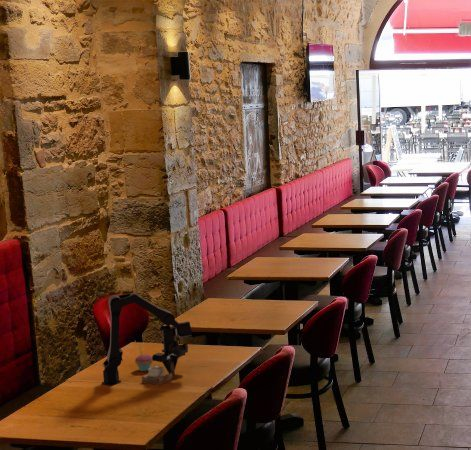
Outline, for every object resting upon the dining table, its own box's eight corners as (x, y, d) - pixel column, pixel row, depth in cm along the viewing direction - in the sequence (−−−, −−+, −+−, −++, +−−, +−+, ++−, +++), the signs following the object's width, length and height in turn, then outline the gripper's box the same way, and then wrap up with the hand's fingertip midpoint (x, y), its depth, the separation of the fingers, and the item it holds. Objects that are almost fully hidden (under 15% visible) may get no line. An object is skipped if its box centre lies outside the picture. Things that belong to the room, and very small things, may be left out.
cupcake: (132, 371, 409) (130, 346, 407) (142, 366, 416) (140, 341, 415) (147, 373, 405) (145, 348, 403) (157, 367, 412) (155, 343, 411)
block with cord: (157, 383, 389) (156, 370, 388) (149, 381, 392) (148, 368, 391) (177, 374, 400) (176, 361, 399) (169, 373, 403) (168, 360, 402)
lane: (157, 385, 386) (157, 379, 386) (142, 382, 392) (141, 376, 391) (172, 378, 394) (172, 373, 394) (157, 375, 400) (157, 370, 399)
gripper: (168, 345, 386) (171, 379, 388) (195, 335, 400) (197, 368, 402) (150, 342, 393) (152, 376, 395) (177, 332, 407) (179, 365, 409)
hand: (171, 371), depth 400 cm, fingers closed on block with cord, 3 cm apart
